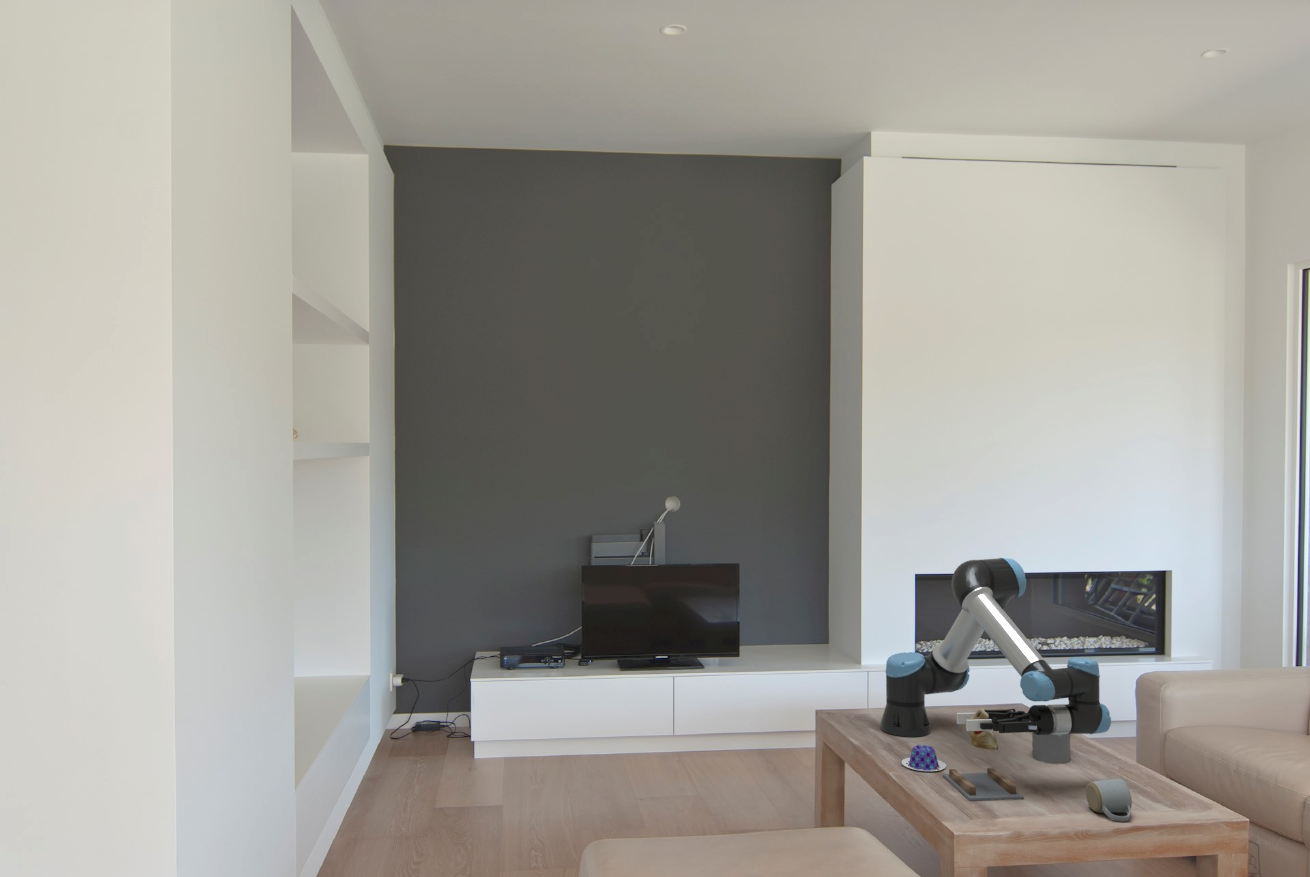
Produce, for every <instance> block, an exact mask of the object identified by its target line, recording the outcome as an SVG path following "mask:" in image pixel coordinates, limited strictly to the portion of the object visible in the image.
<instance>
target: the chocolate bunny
mask: <svg viewBox="0 0 1310 877" xmlns="http://www.w3.org/2000/svg"><path fill="white" fill-rule="evenodd" d="M984 710H985V709H984V708H983V707H981V708H978V710H977V711H976V712H975V713H976V714H975V715H974V716H972V717H970V718H969V720H975V719H988V718H989V715H988V714H987V713H986V712H985V711H984ZM969 737H970V738H971V741H970V744H971V745H972V746H974V747H976V748H979V749H984V750H992V751H994V750H995V751H996V750H997V751H998V750H999V744H998V740H997V739H996V735H994V733H993V732H992V730H991V731H969Z"/></svg>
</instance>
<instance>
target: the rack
mask: <svg viewBox="0 0 1310 877" xmlns="http://www.w3.org/2000/svg"><path fill="white" fill-rule="evenodd" d="M986 773H987V775H988V776H989V777H990V778H991V779H993V780H994V781H995V782H996V783H997V784H999V785H1000V786H1001V787H1002V788H1004V789H1005V790H1006V791H1007V792H1008V793H1010V794H1016V791H1017V786H1016V784H1014V783H1013V782H1012V781H1011V780H1009V779H1008V778H1007V777H1006V776H1004V775H1003V774H1001V773H1000V772H999V771H998V770H996V769H995V768H994V767H987V771H986ZM948 774H949V777H950V778H951V779H953V780H954V781H955V782H956V783H957V784H958V785H959V786H960V787H961V788H963V789H964V790H965V791H966V792H967V793H968V794H969V795H976V787H975V786H974V785H973V784H972V783H970V782H969V781H968V780H967V779H966V778H965V777H963V776H962V775H961V773H960V772H959V771H958V770H957V769H955V768H949V769H948Z"/></svg>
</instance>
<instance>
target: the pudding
mask: <svg viewBox="0 0 1310 877" xmlns="http://www.w3.org/2000/svg"><path fill="white" fill-rule="evenodd" d="M908 761H909V762H908ZM906 763H908V764H906ZM901 765H902V766H904V767H905V768H908V769H911V770H915V771H920V772H925V771H926V772H929V771H930V772H937V771H942V770H945V769H946V767H947V764H946V763H945V762H944V761H941V759H940V760H939V759H938V757H937V754H936V750H935V749H934V747H933V746H930V745H925V744H922V745H921V744H918V745H915V746H913V747H912V749H911V753H910V757H906V758H903V759H902V760H901ZM908 765H909V766H908ZM939 765H941V766H940V767H941V768H939ZM913 767H914V768H913ZM937 767H938V768H937ZM919 769H923V770H919ZM931 769H936V770H931ZM937 769H939V770H937Z"/></svg>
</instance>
